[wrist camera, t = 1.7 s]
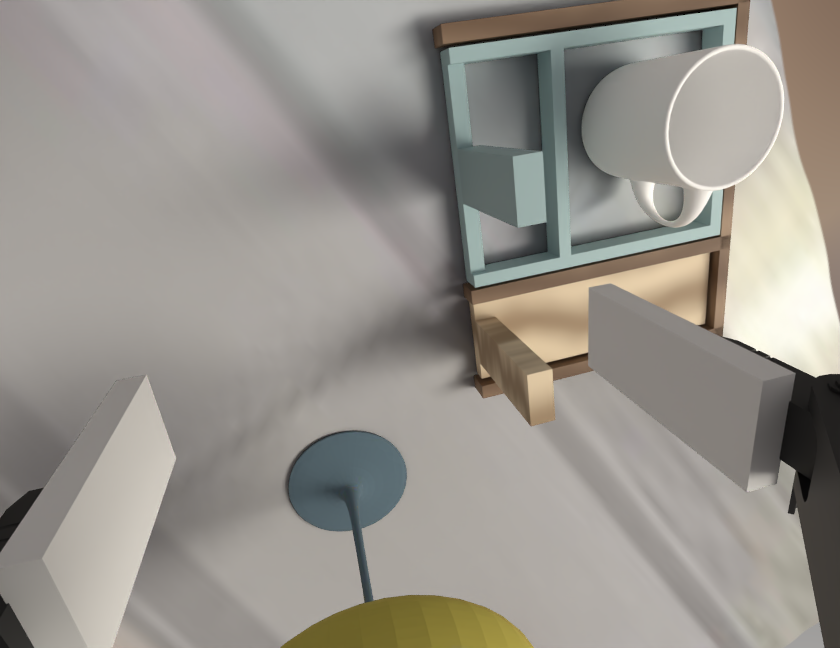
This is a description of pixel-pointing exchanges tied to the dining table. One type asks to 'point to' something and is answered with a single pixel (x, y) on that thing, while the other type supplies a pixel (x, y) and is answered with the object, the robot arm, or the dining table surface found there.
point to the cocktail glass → (352, 510)
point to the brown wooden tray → (632, 5)
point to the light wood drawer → (569, 327)
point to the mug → (685, 123)
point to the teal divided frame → (551, 153)
